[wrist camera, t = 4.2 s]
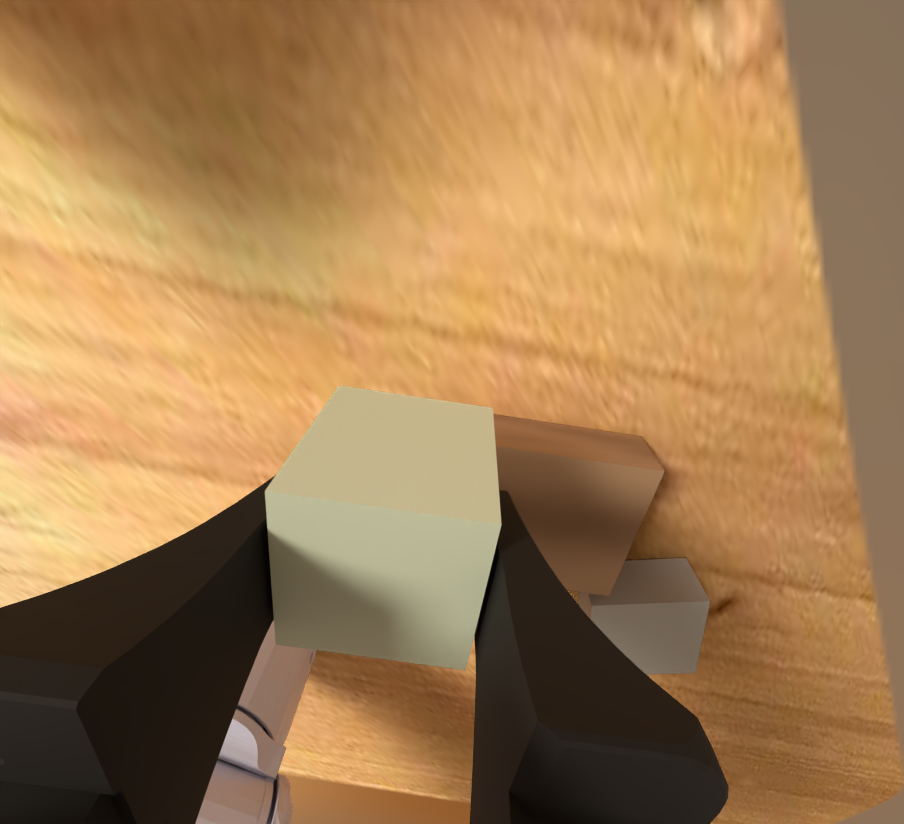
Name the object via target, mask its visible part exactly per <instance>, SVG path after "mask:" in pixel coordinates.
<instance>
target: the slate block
mask: <svg viewBox="0 0 904 824" xmlns="http://www.w3.org/2000/svg"><path fill="white" fill-rule="evenodd" d="M709 605H710V600H709V598H708V596H707V594H706V593H705V591H704V589H703V587H702V586H701V584H700V582H699V580H698V578H697V577H696V575H695V573H694V571H693V569H692V568H691V566H690V564H689V562H688V561H687V559H686V558H670V559H649V560H628V561H625V562H624V564H623V566H622V568H621V571H620V573H619V575H618V577H617V580H616V582H615V584H614V586H613V589H612V591H611V593H610V595H609V596H603V595H596V594H589V593H582V592H579V606H580V608H581V609H582V610H583V611H584V612H585V613H586V615H587V616H588V617H589V618H590V619H591V620H592V621H593V622H594V623H595V624H596V626H597V627H598V628H599V629H600V630H601V631H602V632H603V633H604V634H605V635H606V636H607V637H608V638H609V639H610V640H611V641H612V643H613V644H614V645H615V646H616V647H617V648H618V649H619V650H620V651H621V652H622V653H623V654H624V655H625V656H627V657H628V658H629V659H630V660H631V661H632V662H633V663H634V664H635V665H636V666H637V667H638V668H639V669H641V670H642V671H643V672H644V673H645V674H682V673H696V668H697V663H698V658H699V654H700V649H701V644H702V639H703V634H704V630H705V625H706V620H707V615H708V610H709Z"/></svg>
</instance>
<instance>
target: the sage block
mask: <svg viewBox="0 0 904 824" xmlns="http://www.w3.org/2000/svg"><path fill="white" fill-rule="evenodd" d="M265 501H266V515H267V530H268V544H269V558H270V572H271V586H272V600H273V614H274V629H275V643H276V645H282V646H289V647H297V648H304V649H311V650H319V651H326V652H333V653H341V654H348V655H356V656H363V657H370V658H378V659H385V660H392V661H400V662H407V663H415V664H422V665H429V666H437V667H444V668H452V669H459V670H466V667H467V663H468V659H469V655H470V651H471V647H472V643H473V639H474V635H475V630H476V626H477V622H478V618H479V614H480V610H481V606H482V602H483V598H484V594H485V590H486V586H487V582H488V577H489V573H490V569H491V565H492V561H493V557H494V553H495V549H496V545H497V541H498V537H499V533H500V529H501V511H500V498H499V484H498V471H497V457H496V444H495V430H494V417H493V408H491V407H484V406H477V405H470V404H463V403H457V402H450V401H443V400H436V399H429V398H422V397H416V396H409V395H402V394H395V393H388V392H381V391H375V390H368V389H361V388H354V387H347V386H340V385H339V386H338V388H337V389H336V390H335V392H334V393H333V395H332V396H331V397H330V399H329V400H328V402H327V403H326V405H325V406H324V407H323V409H322V410H321V412H320V413H319V415H318V416H317V417H316V419H315V420H314V422H313V423H312V425H311V426H310V427H309V429H308V430H307V432H306V433H305V434H304V436H303V437H302V439H301V440H300V442H299V443H298V444H297V446H296V447H295V449H294V450H293V452H292V453H291V454H290V456H289V457H288V459H287V460H286V462H285V463H284V464H283V466H282V467H281V469H280V470H279V472H278V473H277V474H276V476H275V477H274V479H273V480H272V481H271V483H270V484H269V486H268V487H267V489H266V490H265Z"/></svg>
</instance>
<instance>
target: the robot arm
mask: <svg viewBox="0 0 904 824" xmlns="http://www.w3.org/2000/svg"><path fill="white" fill-rule="evenodd" d="M275 476H276V475H275ZM275 476H274V477H275ZM274 477H272V478H271V479H270V480H268V481H267V482H265V483H264V484H263V485H261V486H260V487H258V488H257V489H256V490H254V491H253V492H251V493H250V494H248V495H247V496H245V497H244V498H242V499H241V500H239V501H238V502H237V503H235V504H233V505H232V506H230V507H229V508H227V509H225V510H224V511H222V512H221V513H219V514H217V515H216V516H214V517H213V518H211V519H209V520H208V521H206V522H205V523H203V524H201V525H199V526H198V527H196V528H194V529H192V530H190V531H189V532H187V533H185V534H183V535H181V536H179V537H177V538H175V539H173V540H172V541H170V542H168V543H166V544H164V545H162V546H160V547H158V548H156V549H154V550H151V551H149V552H147V553H145V554H142V555H140V556H138V557H136V558H134V559H131V560H129V561H127V562H125V563H122V564H120V565H118V566H116V567H113V568H111V569H109V570H106V571H104V572H101V573H99V574H96V575H94V576H91V577H89V578H86V579H84V580H81V581H78V582H76V583H73V584H70V585H67V586H65V587H62V588H59V589H56V590H54V591H51V592H48V593H45V594H42V595H39V596H36V597H33V598H30V599H27V600H24V601H21V602H17V603H14V604H11V605H8V606H5V607H2V608H0V824H291V822H292V813H293V804H292V798H291V791H290V783H289V779H288V778H287V777H286V776H285V775H282V774H279V773H278V770H279V768H280V765H281V762H282V759H283V756H284V753H285V750H286V747H285V746H283V744H284V742H285V740H286V738H287V735H288V733H289V730H290V727H291V724H292V721H293V718H294V716H295V713H296V710H297V707H298V704H299V701H300V698H301V695H302V692H303V690H304V687H305V684H306V681H307V678H308V675H309V672H310V669H311V666H312V663H313V661H314V658H315V655H316V652H317V650H311V649H304V648H297V647H289V646H282V645H276V643H275V629H274V614H273V600H272V586H271V572H270V558H269V544H268V530H267V515H266V501H265V490H266V489H267V487H268V486H269V484H270V483H271V481H272V480H273V479H274ZM499 498H500V511H501V529H500V533H499V537H498V541H497V545H496V549H495V553H494V557H493V561H492V565H491V569H490V573H489V577H488V582H487V586H486V590H485V594H484V598H483V602H482V606H481V610H480V614H479V618H478V622H477V626H476V630H475V635H474V636H475V653H476V695H475V724H474V749H473V771H472V792H471V812H470V824H710V823H711V822H712V821H713V819H714V818H715V817H716V816H717V815H718V814H719V813H720V811H721V810H722V808H723V806H724V805H725V803H726V801H727V799H728V784H727V782H726V779H725V777H724V774H723V772H722V770H721V767H720V765H719V762H718V760H717V757H716V755H715V753H714V750H713V748H712V746H711V744H710V742H709V740H708V738H707V736H706V734H705V732H704V730H703V728H702V726H701V724H700V722H699V720H698V718H697V717H696V716H695V715H694V714H692V713H691V712H690V711H689V710H688V709H686V708H685V707H684V706H683V705H681V704H680V703H679V702H678V701H677V700H675V699H674V698H673V697H672V696H671V695H669V694H668V693H667V692H666V691H665V690H663V689H662V688H661V687H660V686H659V685H657V684H656V683H655V682H654V681H653V680H651V679H650V678H649V677H648V676H647V675H646V674H645V673H644V672H643V671H642V670H641V669H639V668H638V667H637V666H636V665H635V664H634V663H633V662H632V661H631V660H630V659H629V658H628V657H627V656H625V655H624V654H623V653H622V652H621V651H620V650H619V649H618V648H617V647H616V646H615V645H614V644H613V643H612V641H611V640H610V639H609V638H608V637H607V636H606V635H605V634H604V633H603V632H602V631H601V630H600V629H599V628H598V627H597V626H596V624H595V623H594V622H593V621H592V620H591V619H590V618H589V617H588V616H587V615H586V613H585V612H584V611H583V610H582V609H581V608H580V606H579V605H578V604H577V603H576V601H575V600H574V599H573V598H572V596H571V595H570V594H569V592H568V591H567V590H566V588H565V587H564V586H563V584H562V583H561V582H560V580H559V579H558V577H557V576H556V575H555V573H554V572H553V570H552V569H551V567H550V566H549V564H548V563H547V561H546V560H545V558H544V557H543V555H542V553H541V552H540V550H539V548H538V547H537V545H536V543H535V542H534V540H533V538H532V537H531V535H530V533H529V531H528V530H527V528H526V526H525V524H524V522H523V520H522V518H521V516H520V515H519V513H518V511H517V509H516V506H515V504H514V502H513V500H512V498H511V496H510V494H509V493H508V491H505V490H499Z"/></svg>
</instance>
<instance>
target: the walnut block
mask: <svg viewBox="0 0 904 824" xmlns="http://www.w3.org/2000/svg"><path fill="white" fill-rule="evenodd" d="M493 417H494V430H495V444H496V457H497V471H498V484H499V490H505V491H508V493H509V494H510V496H511V498H512V500H513V502H514V504H515V506H516V509H517V511H518V513H519V515H520V516H521V518H522V520H523V522H524V524H525V526H526V528H527V530H528V531H529V533H530V535H531V537H532V538H533V540H534V542H535V543H536V545H537V547H538V548H539V550H540V552H541V553H542V555H543V557H544V558H545V560H546V561H547V563H548V564H549V566H550V567H551V569H552V570H553V572H554V573H555V575H556V576H557V577H558V579H559V580H560V582H561V583H562V584H563V586H564V587H565V588H566V590H568V591H575V592H582V593H589V594H596V595H603V596H609V595H610V593H611V591H612V589H613V586H614V584H615V582H616V580H617V577H618V575H619V573H620V571H621V568H622V566H623V564H624V562H625V559H626V557H627V555H628V553H629V550H630V548H631V546H632V544H633V542H634V539H635V537H636V535H637V533H638V530H639V528H640V526H641V524H642V521H643V519H644V517H645V515H646V512H647V510H648V508H649V506H650V503H651V501H652V499H653V497H654V494H655V492H656V490H657V488H658V485H659V483H660V481H661V479H662V476H663V474H664V472H665V471H664V469H663V468H662V466H661V465H660V463H659V462H658V460H657V459H656V457H655V456H654V454H653V453H652V451H651V450H650V448H649V447H648V445H647V444H646V442H645V440H644V439H643V437H641V436H634V435H628V434H621V433H614V432H608V431H601V430H595V429H588V428H581V427H575V426H568V425H561V424H555V423H548V422H541V421H535V420H528V419H521V418H515V417H508V416H502V415H495V414H493Z"/></svg>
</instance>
